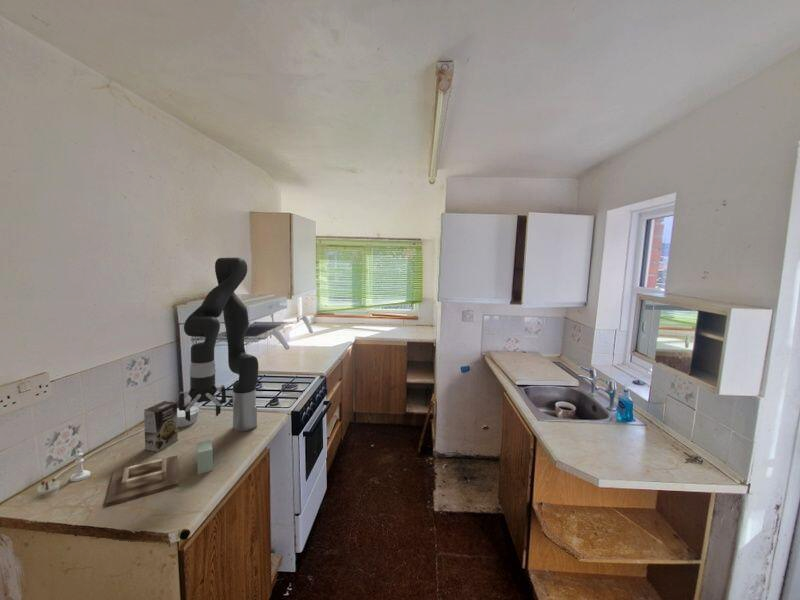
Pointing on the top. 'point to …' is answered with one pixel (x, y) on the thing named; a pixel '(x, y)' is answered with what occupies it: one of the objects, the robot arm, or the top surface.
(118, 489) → the board
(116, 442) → the top surface
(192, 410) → the ramekin
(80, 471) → the chess piece
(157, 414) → the coffee box
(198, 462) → the key block
